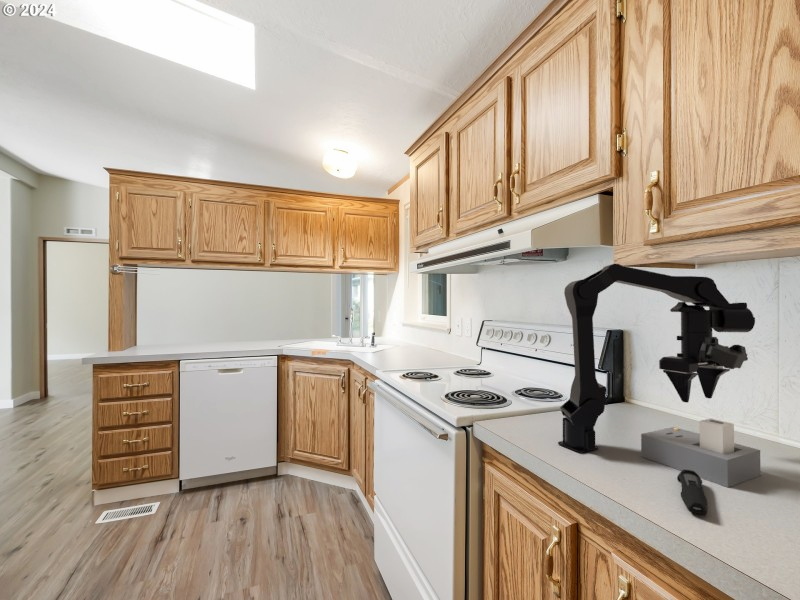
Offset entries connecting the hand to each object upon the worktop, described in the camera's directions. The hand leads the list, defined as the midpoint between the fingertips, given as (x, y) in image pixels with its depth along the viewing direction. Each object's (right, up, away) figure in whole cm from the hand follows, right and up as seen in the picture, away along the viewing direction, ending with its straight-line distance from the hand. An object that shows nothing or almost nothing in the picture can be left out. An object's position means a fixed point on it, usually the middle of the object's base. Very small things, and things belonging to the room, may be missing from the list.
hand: (697, 400), depth 87 cm
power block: (-6, -12, -7) cm, 15 cm away
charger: (-4, -10, -10) cm, 15 cm away
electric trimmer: (-17, -12, -21) cm, 30 cm away
